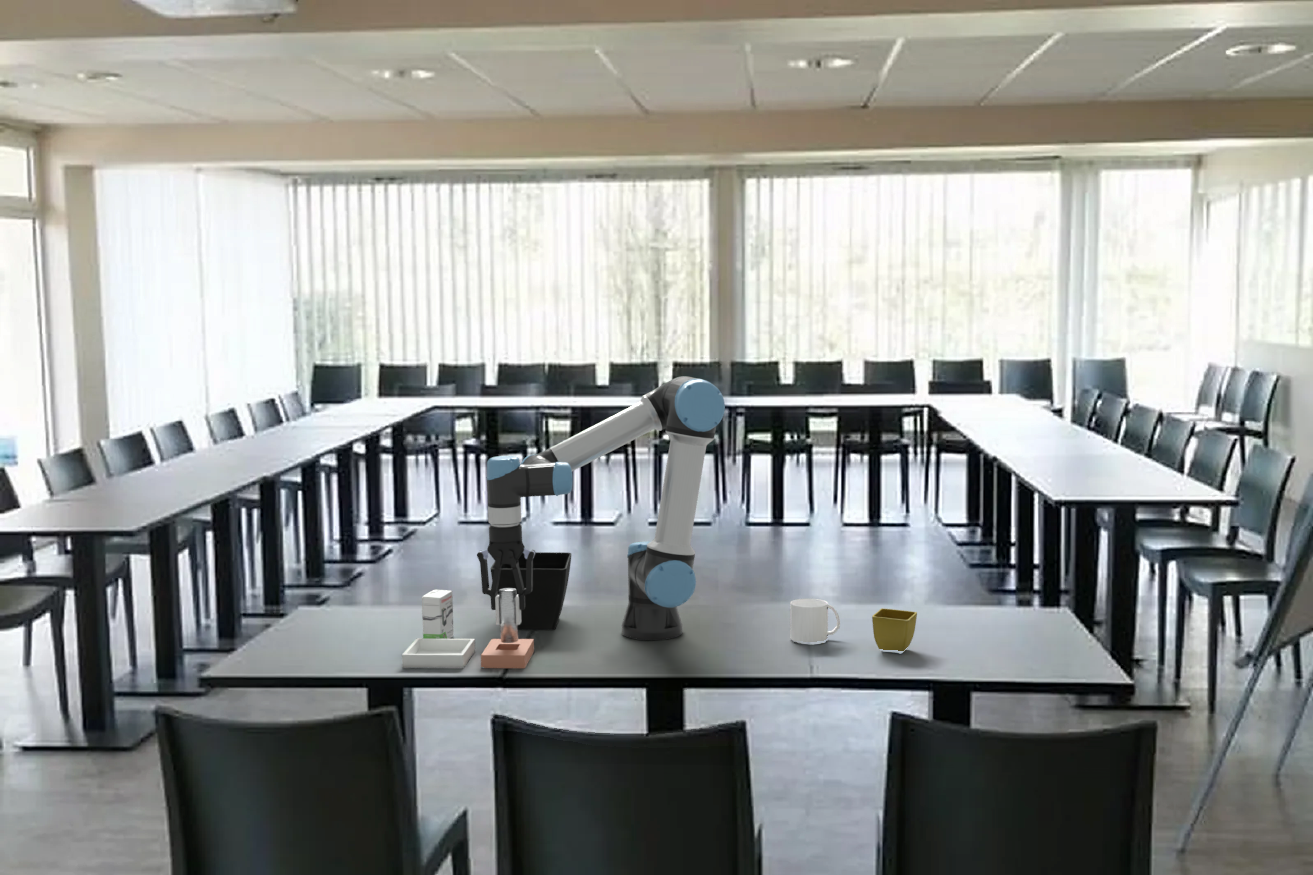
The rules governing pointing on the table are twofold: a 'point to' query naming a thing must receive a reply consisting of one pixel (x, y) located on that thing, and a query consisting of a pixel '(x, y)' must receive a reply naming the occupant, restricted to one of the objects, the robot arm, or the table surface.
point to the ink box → (437, 614)
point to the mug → (810, 620)
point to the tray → (438, 653)
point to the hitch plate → (507, 654)
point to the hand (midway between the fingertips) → (508, 623)
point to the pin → (508, 615)
